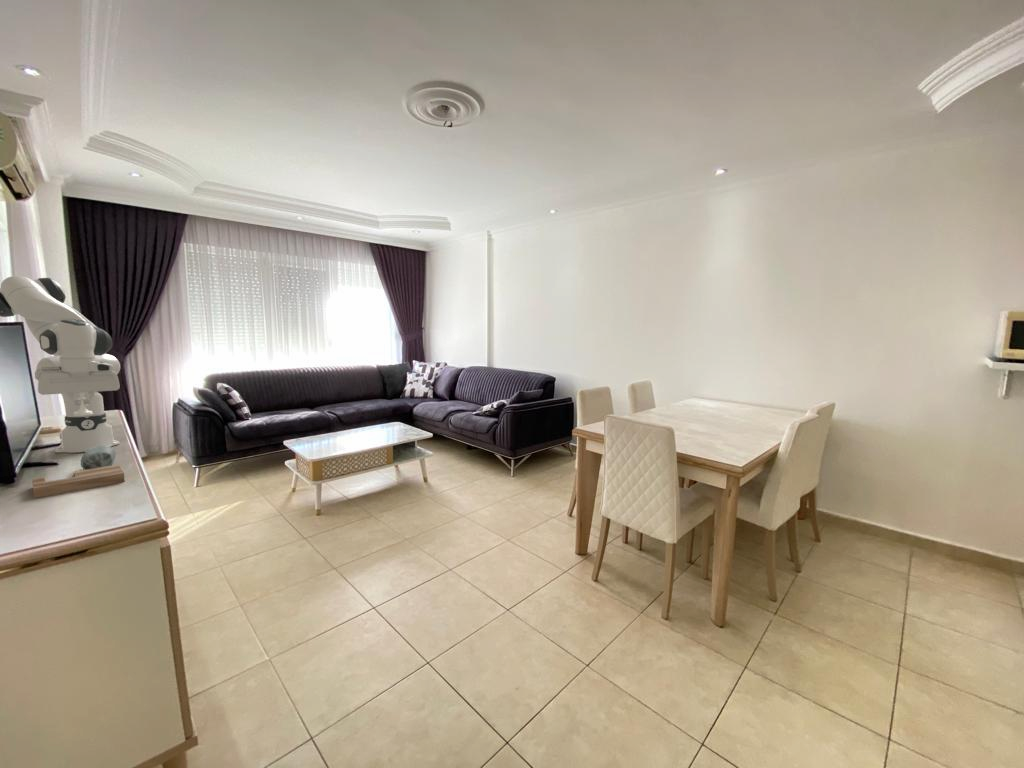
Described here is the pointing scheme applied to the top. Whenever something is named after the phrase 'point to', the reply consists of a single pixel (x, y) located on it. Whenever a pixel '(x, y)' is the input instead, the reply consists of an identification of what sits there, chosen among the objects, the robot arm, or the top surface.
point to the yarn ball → (98, 457)
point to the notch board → (78, 481)
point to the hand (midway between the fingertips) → (82, 404)
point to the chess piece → (82, 406)
